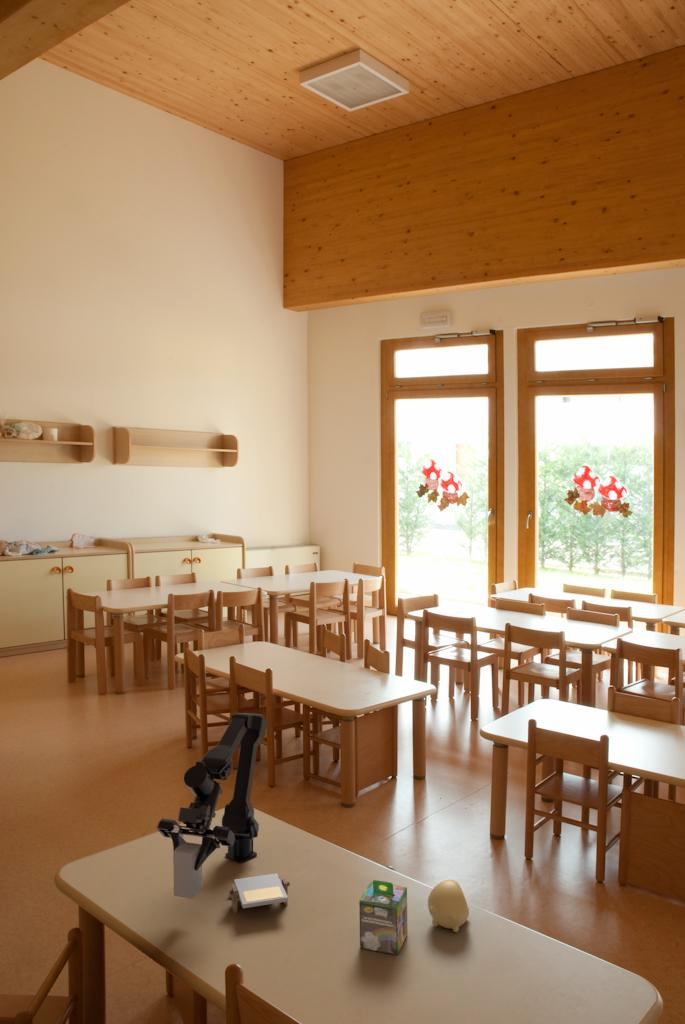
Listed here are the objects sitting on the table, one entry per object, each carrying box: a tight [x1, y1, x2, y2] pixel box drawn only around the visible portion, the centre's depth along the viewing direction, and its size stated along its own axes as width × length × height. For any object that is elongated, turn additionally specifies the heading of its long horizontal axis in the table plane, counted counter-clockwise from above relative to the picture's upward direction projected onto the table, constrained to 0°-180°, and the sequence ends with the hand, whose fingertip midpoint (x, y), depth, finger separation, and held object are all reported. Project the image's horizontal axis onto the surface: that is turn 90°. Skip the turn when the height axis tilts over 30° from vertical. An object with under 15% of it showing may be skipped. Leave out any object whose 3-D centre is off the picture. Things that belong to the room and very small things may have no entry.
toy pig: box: [427, 879, 470, 933], centre depth 199 cm, size 10×12×11 cm
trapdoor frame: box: [228, 877, 291, 914], centre depth 210 cm, size 8×15×6 cm, turn 107°
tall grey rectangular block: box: [172, 841, 203, 900], centre depth 200 cm, size 5×5×11 cm
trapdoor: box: [233, 872, 289, 909], centre depth 206 cm, size 12×11×4 cm
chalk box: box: [358, 879, 408, 956], centre depth 192 cm, size 9×9×15 cm
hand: (185, 868), depth 199 cm, fingers closed on tall grey rectangular block, 5 cm apart
